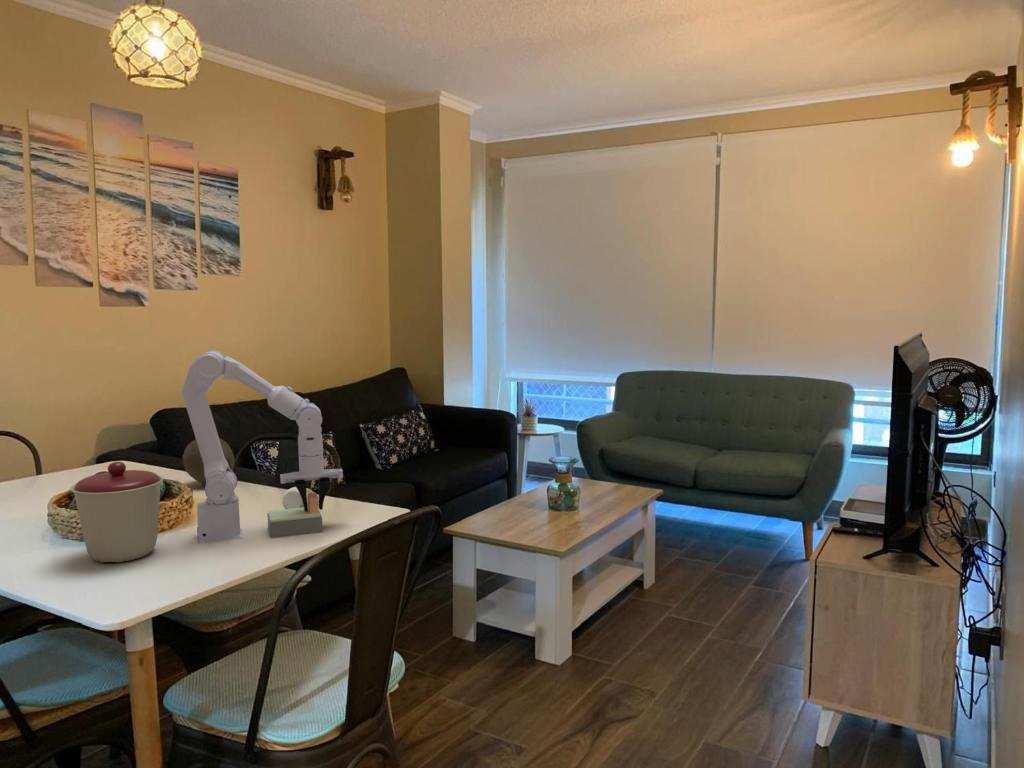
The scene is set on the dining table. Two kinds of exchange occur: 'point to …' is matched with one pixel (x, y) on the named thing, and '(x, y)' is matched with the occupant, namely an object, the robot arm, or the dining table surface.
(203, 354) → the robot arm
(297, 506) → the supplement bottle
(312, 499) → the lid
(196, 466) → the cantaloupe
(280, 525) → the tub
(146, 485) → the canister
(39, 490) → the dining table surface
